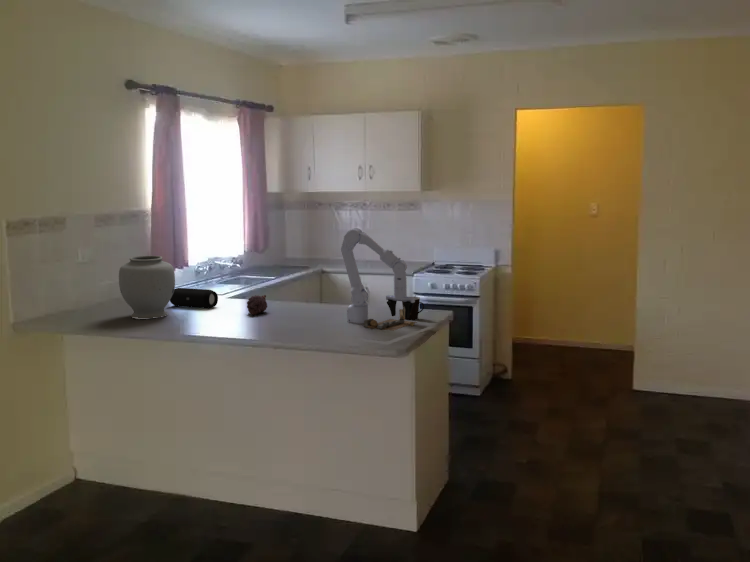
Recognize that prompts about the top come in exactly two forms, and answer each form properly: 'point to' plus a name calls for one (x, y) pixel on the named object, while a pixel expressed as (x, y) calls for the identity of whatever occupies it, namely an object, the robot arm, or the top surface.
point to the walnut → (373, 323)
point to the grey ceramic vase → (147, 285)
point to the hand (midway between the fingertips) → (400, 316)
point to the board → (392, 328)
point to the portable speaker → (194, 298)
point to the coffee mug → (414, 309)
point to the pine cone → (257, 304)
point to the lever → (388, 324)
